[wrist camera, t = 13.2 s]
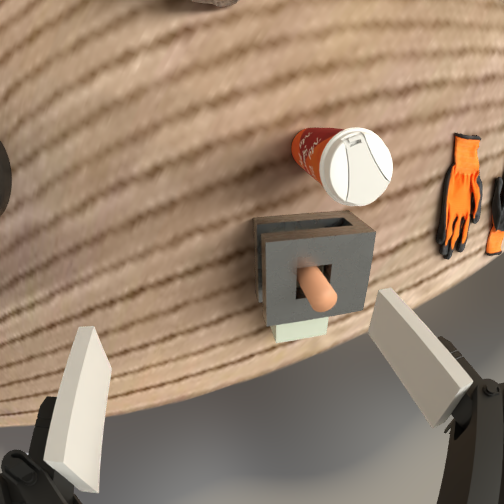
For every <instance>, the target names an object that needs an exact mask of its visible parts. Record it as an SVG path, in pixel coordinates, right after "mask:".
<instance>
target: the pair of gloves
mask: <svg viewBox="0 0 504 504" xmlns="http://www.w3.org/2000/svg"><path fill="white" fill-rule="evenodd" d="M454 135H455V139H456V140H455V152H454V156H455V163H453V164H452V166H451V167H450V169H449V170H448V173H447V175H446V179H445V183H444V191H443V192H444V193H443V204H442V214H441V220H440V224H439V229H438V232H437V237H436V240H437V243H438V244H441V245H442V246H441V249H440V253H441V254H442V255H444V258H445V259H450V258H451V256H452V252H453V249H454V245H455V243H456V241H457V239H458V237H459V235H460V233H462V236H461V239H460V241H459V243H458V246H457V251H458V252H462V251H463V250H464V248H465V244H466V241H467V237H468V230H469V226H470V216H471V214H472V217H471V220H472V222H473V223H474V224H476V223H477V222H478V221H479V218H480V213H481V200H482V181H481V179H480V176H479V173H480V172H479V162H478V157H477V149H478V147H479V142H480V140H481V138H480V137H479V136H477V135H476V136H474V135H472V136H467V135H463V134H458V133H455V134H454ZM502 185H503V180H502V178H501V177H498V178H497V180H496V184H495V193H494V197H493V203H492V221H493V225H494V226H493V227H492V229H491V231H490V234H489V237H488V241H487V246H486V254H487V255H489V256H492V255H500V254H501V253H502V251H501V243H502V240H503V237H504V194H503V202H502V205H501V201H500V192H501V188H502Z"/></svg>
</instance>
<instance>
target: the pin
mask: <svg viewBox="0 0 504 504" xmlns="http://www.w3.org/2000/svg"><path fill="white" fill-rule="evenodd" d="M297 281H298V283H299V285H300V287H301V289H302V290H303V292H304V294H305V296H306V298H307V299H308V301H309V303H310V305H311V307H312V308H313V310H315V311H317V312H325V311H328V310H329V309H331V308H332V307H333V306H334V305H335V303H336V301H337V294H336V292H335V291H334V289H333V288H332V286H331V285H330V284H329V282H328V281H327V279H326V278H325V276H324V275H323V274H322V272H321V271H320V269H319V268H318V267H317V266H312V267H304V268H297Z"/></svg>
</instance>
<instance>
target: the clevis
mask: <svg viewBox="0 0 504 504" xmlns="http://www.w3.org/2000/svg"><path fill="white" fill-rule="evenodd" d="M253 227H254V257H255V287H256V296H257V299H258V302H263V317H264V320H265V323H266V326H274V325H281V324H287V323H294V322H300V321H306V320H312V319H318V318H324V317H329V316H335V315H340V314H346V313H351V312H356V311H361V310H363V307H364V302H365V297H366V292H367V286H368V281H369V275H370V269H371V263H372V256H373V250H374V243H375V235H376V231H374V230H373V229H372V228H371V227H369V226H368V225H367V224H366V223H364V222H363V221H362V220H360V219H359V218H358V217H356V216H355V215H354V214H353V213H351V212H350V211H334V212H320V213H306V214H293V215H281V216H269V217H257V218H253ZM320 265H324V269H323V275H324V276H325V278H326V279H327V281H328V282H329V284H330V285H331V286H332V288H333V289H334V291H335V292H336V294H337V301H336V303H335V305H334V306H333V307H332V308H331V309H329V310H328V311H325V312H317V311H315V310H313V308H312V307H311V305H310V303H309V301H308V299H307V298H306V296H305V294H304V292H303V290H302V289H301V287H300V288H296V281H297V268H304V267H312V266H320Z"/></svg>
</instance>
